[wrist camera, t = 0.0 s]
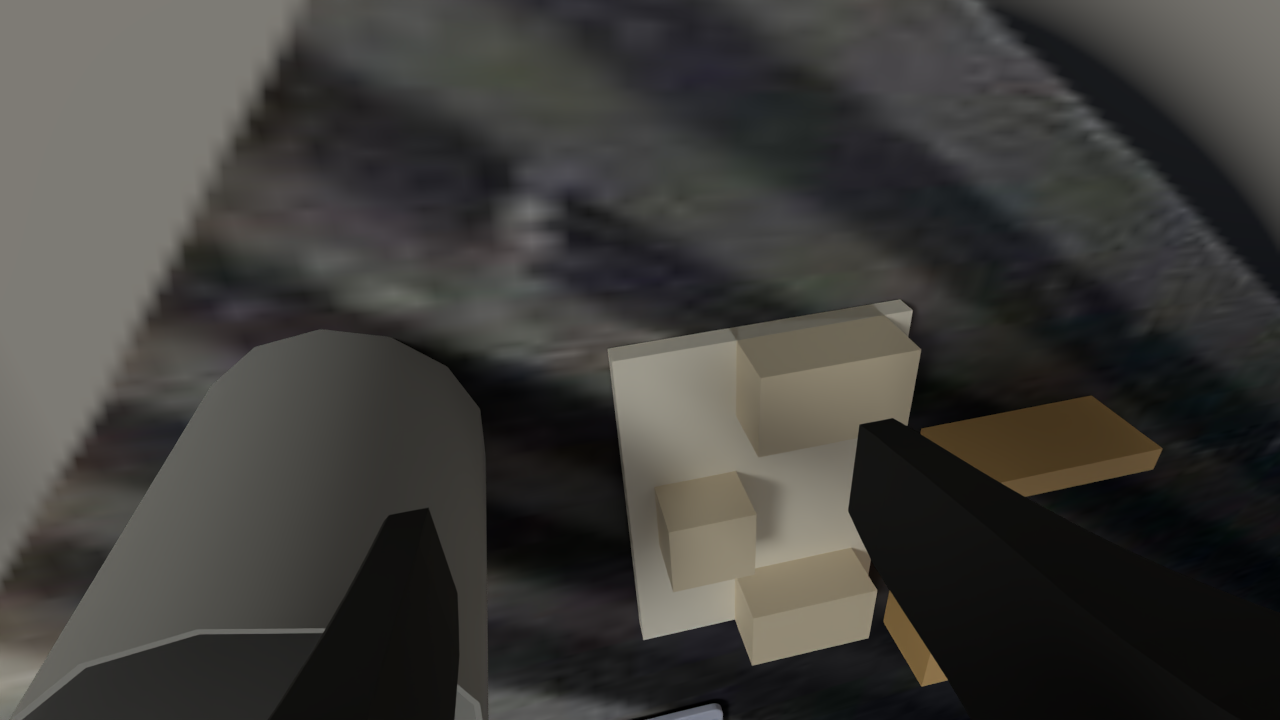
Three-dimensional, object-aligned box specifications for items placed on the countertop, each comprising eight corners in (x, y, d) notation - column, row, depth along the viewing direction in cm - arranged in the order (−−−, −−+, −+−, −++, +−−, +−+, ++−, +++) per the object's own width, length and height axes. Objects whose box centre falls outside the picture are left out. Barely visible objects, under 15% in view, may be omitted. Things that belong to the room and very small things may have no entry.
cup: (503, 349, 21) (518, 626, 12) (470, 542, 24) (465, 851, 16) (187, 314, 18) (-61, 631, 10) (207, 534, 22) (41, 895, 14)
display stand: (900, 299, 23) (952, 343, 20) (857, 575, 30) (891, 632, 28) (607, 348, 21) (624, 402, 19) (639, 623, 29) (655, 688, 26)
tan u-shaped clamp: (1091, 395, 27) (1162, 448, 24) (1021, 589, 33) (1071, 649, 31) (921, 428, 26) (975, 488, 23) (883, 621, 33) (921, 686, 30)
